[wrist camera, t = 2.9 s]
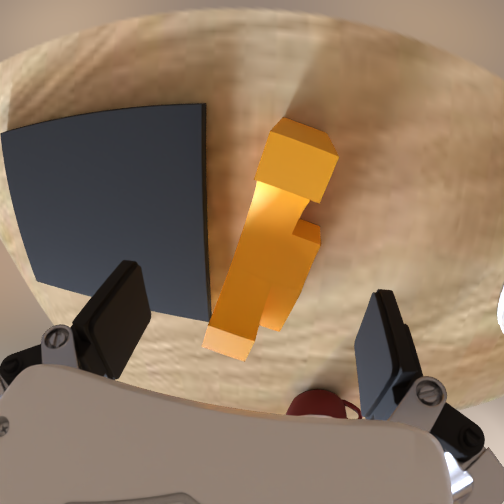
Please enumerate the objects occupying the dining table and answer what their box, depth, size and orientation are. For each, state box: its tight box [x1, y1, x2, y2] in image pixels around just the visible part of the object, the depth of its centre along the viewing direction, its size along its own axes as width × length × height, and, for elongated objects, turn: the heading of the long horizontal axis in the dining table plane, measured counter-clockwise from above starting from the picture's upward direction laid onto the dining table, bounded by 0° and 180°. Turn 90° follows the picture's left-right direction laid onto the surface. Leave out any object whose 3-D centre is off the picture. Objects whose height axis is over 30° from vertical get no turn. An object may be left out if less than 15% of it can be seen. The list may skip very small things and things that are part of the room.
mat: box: [1, 103, 212, 322], centre depth 21 cm, size 20×16×1 cm
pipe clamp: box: [202, 117, 339, 362], centre depth 16 cm, size 12×4×6 cm, turn 164°
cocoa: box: [286, 389, 362, 419], centre depth 23 cm, size 10×6×12 cm, turn 84°
